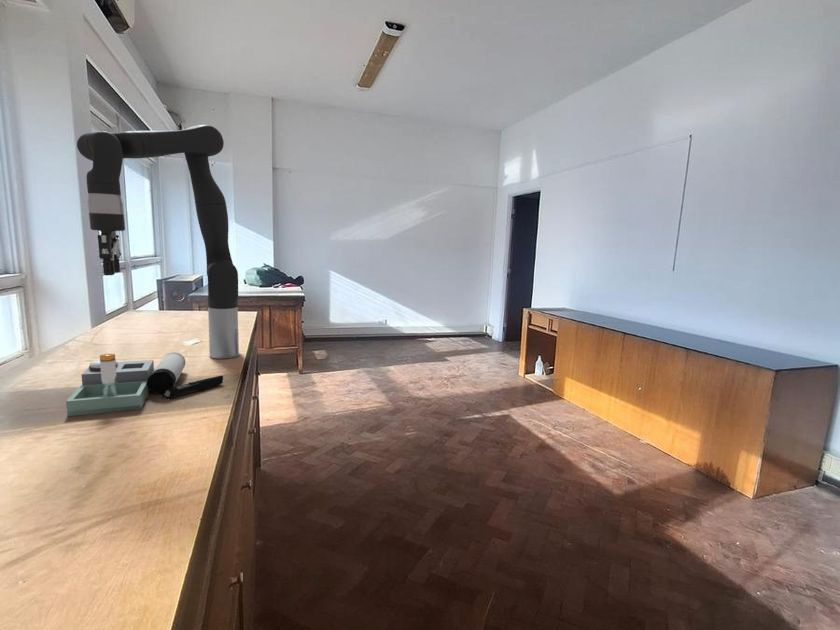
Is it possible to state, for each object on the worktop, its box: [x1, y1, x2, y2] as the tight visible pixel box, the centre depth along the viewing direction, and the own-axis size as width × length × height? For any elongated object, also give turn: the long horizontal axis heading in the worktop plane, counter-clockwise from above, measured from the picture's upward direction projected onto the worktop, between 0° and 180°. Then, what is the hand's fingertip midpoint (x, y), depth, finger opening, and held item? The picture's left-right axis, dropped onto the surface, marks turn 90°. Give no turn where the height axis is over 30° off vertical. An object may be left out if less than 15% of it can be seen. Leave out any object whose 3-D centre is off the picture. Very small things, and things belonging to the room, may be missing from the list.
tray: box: [65, 381, 149, 417], centre depth 104 cm, size 14×11×4 cm
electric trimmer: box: [162, 374, 224, 400], centre depth 116 cm, size 4×16×3 cm, turn 146°
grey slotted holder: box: [80, 359, 155, 393], centre depth 114 cm, size 14×10×7 cm
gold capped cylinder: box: [99, 353, 118, 397], centre depth 103 cm, size 3×3×11 cm
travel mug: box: [147, 352, 186, 395], centre depth 120 cm, size 6×7×20 cm
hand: (112, 273), depth 116 cm, fingers open, 8 cm apart
